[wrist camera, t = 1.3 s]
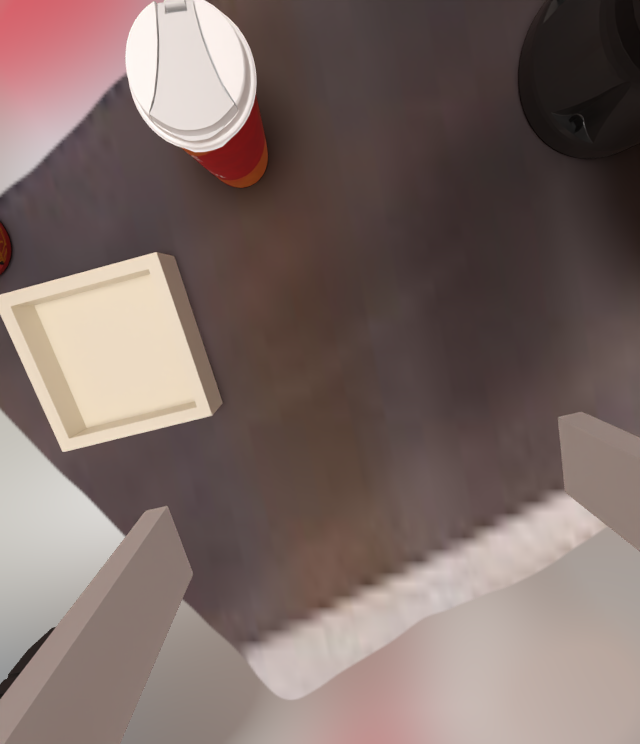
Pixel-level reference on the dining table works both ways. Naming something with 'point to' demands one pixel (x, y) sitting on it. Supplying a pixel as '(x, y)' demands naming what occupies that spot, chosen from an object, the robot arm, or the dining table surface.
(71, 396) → the tray
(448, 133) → the dining table surface
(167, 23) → the paper cup
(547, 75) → the robot arm
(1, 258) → the canned food
